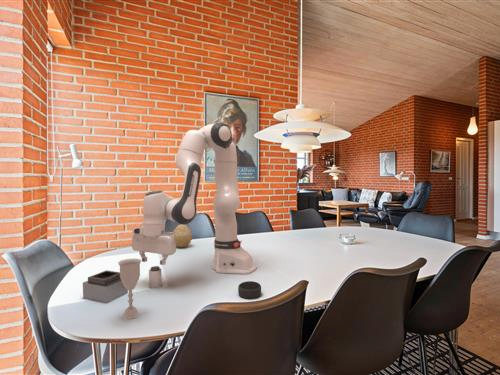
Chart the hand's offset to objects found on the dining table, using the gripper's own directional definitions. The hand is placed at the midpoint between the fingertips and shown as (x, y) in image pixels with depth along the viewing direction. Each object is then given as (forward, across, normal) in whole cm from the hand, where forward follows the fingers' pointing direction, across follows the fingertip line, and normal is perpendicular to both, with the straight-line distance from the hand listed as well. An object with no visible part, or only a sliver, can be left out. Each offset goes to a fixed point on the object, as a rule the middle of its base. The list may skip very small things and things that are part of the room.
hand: (153, 263), depth 117 cm
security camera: (+10, -1, -1) cm, 10 cm away
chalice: (+10, -10, +22) cm, 26 cm away
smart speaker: (+9, -41, -7) cm, 42 cm away
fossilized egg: (+10, +28, -61) cm, 67 cm away
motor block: (+11, +13, +13) cm, 22 cm away
